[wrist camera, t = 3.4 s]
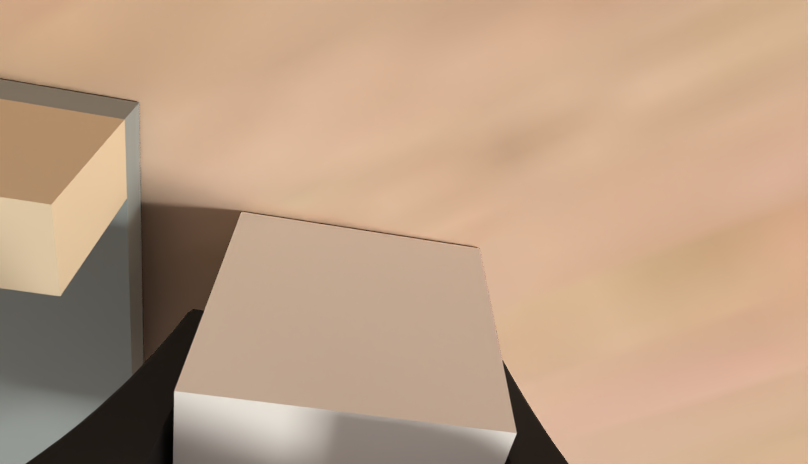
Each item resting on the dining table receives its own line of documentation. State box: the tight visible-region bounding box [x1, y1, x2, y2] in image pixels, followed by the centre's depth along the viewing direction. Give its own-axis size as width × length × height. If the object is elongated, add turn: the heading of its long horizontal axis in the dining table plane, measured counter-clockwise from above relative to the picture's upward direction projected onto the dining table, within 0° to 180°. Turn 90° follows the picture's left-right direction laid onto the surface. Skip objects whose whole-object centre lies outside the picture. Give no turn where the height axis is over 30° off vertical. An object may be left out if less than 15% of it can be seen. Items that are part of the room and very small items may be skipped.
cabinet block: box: [173, 212, 517, 464], centre depth 13 cm, size 5×5×6 cm
